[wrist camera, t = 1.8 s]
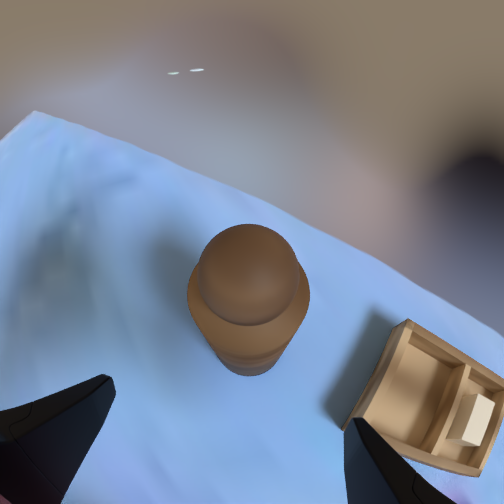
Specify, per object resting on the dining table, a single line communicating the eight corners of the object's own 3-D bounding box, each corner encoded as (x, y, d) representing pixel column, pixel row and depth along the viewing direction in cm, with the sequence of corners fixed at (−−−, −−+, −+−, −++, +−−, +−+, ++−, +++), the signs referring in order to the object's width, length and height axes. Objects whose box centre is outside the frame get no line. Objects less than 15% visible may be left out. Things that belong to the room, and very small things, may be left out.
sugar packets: (463, 446, 14) (479, 446, 12) (445, 439, 15) (461, 439, 12) (479, 405, 15) (495, 402, 13) (462, 396, 16) (478, 393, 14)
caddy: (461, 475, 12) (478, 477, 10) (340, 429, 17) (353, 432, 14) (495, 389, 16) (512, 384, 14) (392, 328, 21) (408, 318, 19)
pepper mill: (251, 389, 19) (256, 367, 7) (202, 346, 21) (136, 253, 8) (294, 341, 21) (357, 242, 9) (246, 302, 23) (243, 169, 10)
